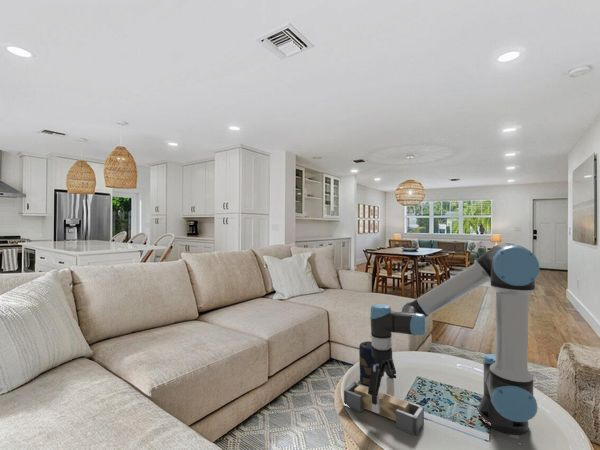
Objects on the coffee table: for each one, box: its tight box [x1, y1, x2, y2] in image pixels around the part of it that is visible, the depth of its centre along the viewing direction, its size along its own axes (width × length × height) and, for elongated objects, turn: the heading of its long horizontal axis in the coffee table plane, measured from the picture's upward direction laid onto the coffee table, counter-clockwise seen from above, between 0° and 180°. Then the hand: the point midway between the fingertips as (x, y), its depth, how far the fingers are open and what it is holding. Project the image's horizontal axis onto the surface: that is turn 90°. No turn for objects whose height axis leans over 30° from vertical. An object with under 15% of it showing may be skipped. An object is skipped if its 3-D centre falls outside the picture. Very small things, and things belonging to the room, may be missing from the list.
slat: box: [354, 385, 409, 422], centre depth 116 cm, size 20×4×6 cm, turn 52°
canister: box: [358, 340, 380, 386], centre depth 139 cm, size 10×10×18 cm
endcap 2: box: [395, 399, 425, 437], centre depth 109 cm, size 7×8×6 cm
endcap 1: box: [343, 381, 369, 413], centre depth 122 cm, size 7×8×6 cm
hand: (383, 403), depth 116 cm, fingers open, 13 cm apart
